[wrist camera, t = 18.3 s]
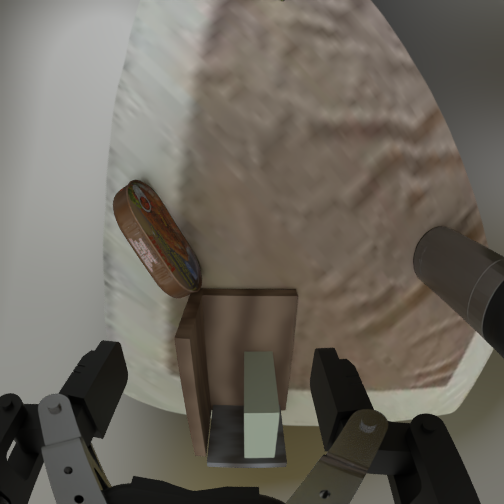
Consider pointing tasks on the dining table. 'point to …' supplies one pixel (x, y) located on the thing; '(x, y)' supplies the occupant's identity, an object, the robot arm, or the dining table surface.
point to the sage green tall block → (260, 405)
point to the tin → (157, 240)
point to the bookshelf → (232, 365)
